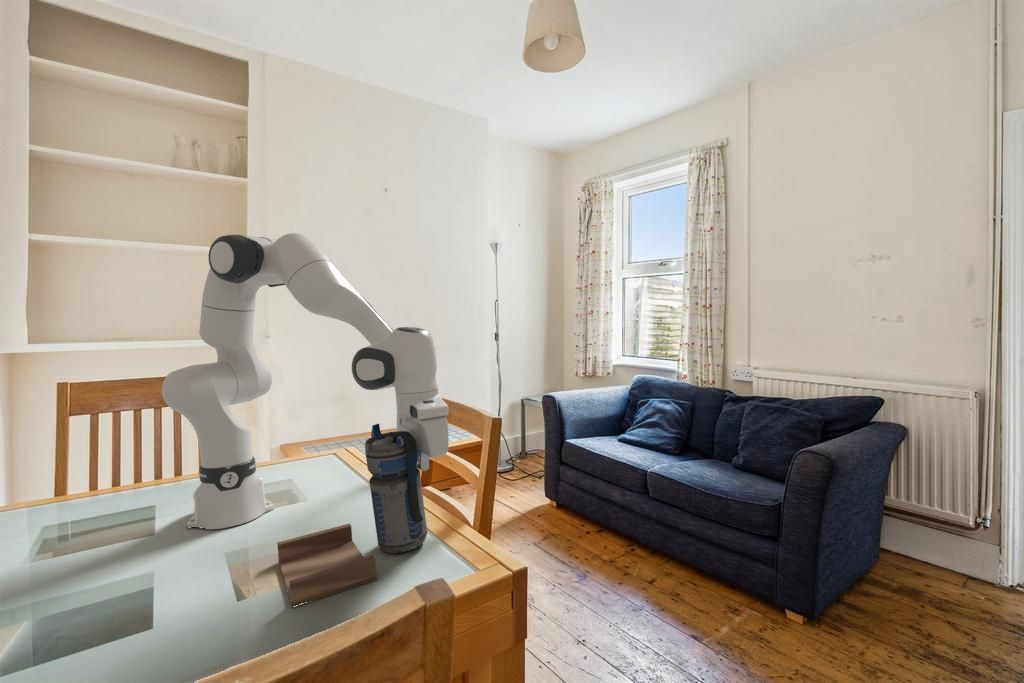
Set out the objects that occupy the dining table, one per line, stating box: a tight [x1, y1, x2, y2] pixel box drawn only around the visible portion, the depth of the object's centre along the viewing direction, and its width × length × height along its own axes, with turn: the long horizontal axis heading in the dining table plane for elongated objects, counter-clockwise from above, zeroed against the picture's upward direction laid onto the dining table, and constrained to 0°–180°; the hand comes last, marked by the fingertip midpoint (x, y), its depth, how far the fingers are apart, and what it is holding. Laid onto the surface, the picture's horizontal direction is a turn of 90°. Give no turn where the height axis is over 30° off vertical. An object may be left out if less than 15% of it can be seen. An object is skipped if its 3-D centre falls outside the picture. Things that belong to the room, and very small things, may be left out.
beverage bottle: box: [364, 423, 428, 554], centre depth 98 cm, size 10×13×25 cm
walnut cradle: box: [276, 523, 378, 608], centre depth 91 cm, size 19×14×4 cm
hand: (422, 468), depth 101 cm, fingers closed, pressing on beverage bottle
